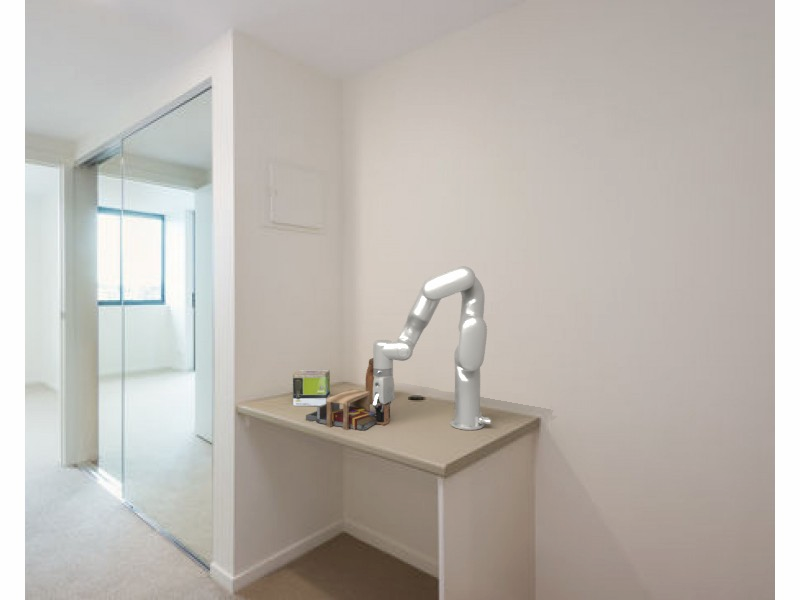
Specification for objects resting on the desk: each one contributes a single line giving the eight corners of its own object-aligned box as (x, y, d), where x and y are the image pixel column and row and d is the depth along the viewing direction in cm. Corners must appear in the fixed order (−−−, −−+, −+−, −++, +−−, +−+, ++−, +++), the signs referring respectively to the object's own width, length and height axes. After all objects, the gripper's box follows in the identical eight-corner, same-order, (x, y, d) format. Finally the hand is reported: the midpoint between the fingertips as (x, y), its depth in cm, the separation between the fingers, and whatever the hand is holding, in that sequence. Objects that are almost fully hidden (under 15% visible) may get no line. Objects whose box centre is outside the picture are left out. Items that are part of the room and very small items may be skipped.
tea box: (330, 401, 197) (330, 369, 197) (326, 406, 187) (326, 373, 187) (298, 400, 198) (298, 369, 197) (292, 406, 188) (292, 373, 187)
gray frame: (334, 415, 174) (334, 410, 174) (318, 422, 164) (318, 417, 164) (322, 413, 176) (322, 408, 176) (305, 420, 167) (305, 415, 167)
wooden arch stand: (369, 417, 170) (369, 391, 170) (346, 429, 155) (347, 401, 155) (350, 415, 174) (350, 389, 174) (326, 426, 159) (326, 398, 159)
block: (378, 398, 203) (378, 356, 202) (390, 400, 198) (390, 358, 198) (363, 402, 194) (363, 359, 194) (375, 405, 189) (375, 360, 189)
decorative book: (355, 431, 154) (356, 417, 154) (327, 422, 165) (327, 409, 165) (377, 424, 163) (377, 411, 163) (348, 416, 173) (348, 404, 173)
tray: (389, 421, 164) (389, 403, 164) (372, 431, 152) (372, 412, 152) (337, 413, 175) (337, 396, 175) (317, 422, 163) (317, 404, 163)
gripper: (381, 377, 153) (381, 427, 153) (401, 369, 168) (401, 415, 168) (363, 375, 156) (363, 424, 156) (384, 368, 171) (384, 413, 172)
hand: (383, 419), depth 162 cm, fingers closed on tray, 4 cm apart
